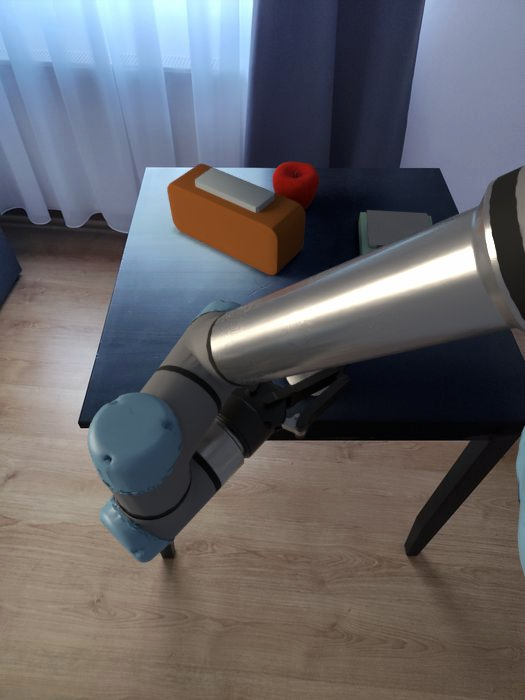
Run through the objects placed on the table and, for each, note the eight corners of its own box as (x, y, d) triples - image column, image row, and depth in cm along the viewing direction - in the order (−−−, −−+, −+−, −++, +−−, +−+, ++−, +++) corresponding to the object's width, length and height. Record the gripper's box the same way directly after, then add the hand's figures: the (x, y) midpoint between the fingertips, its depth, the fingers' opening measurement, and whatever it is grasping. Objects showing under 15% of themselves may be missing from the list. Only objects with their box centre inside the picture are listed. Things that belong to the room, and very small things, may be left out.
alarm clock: (303, 254, 86) (307, 198, 77) (276, 280, 81) (278, 224, 72) (201, 207, 94) (195, 153, 86) (173, 228, 90) (163, 174, 81)
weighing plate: (433, 251, 82) (434, 248, 81) (368, 247, 82) (368, 244, 82) (426, 215, 88) (427, 213, 87) (366, 212, 88) (366, 209, 88)
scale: (436, 273, 82) (442, 256, 79) (360, 268, 83) (363, 252, 80) (427, 227, 90) (432, 210, 87) (358, 223, 91) (361, 206, 88)
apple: (262, 205, 95) (262, 168, 89) (294, 187, 99) (296, 152, 92) (294, 225, 91) (296, 188, 85) (326, 206, 94) (330, 170, 88)
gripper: (172, 408, 62) (283, 310, 73) (287, 502, 54) (392, 377, 65) (162, 375, 56) (284, 273, 67) (290, 475, 48) (405, 342, 59)
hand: (337, 324), depth 66 cm, fingers closed on beverage can, 6 cm apart
